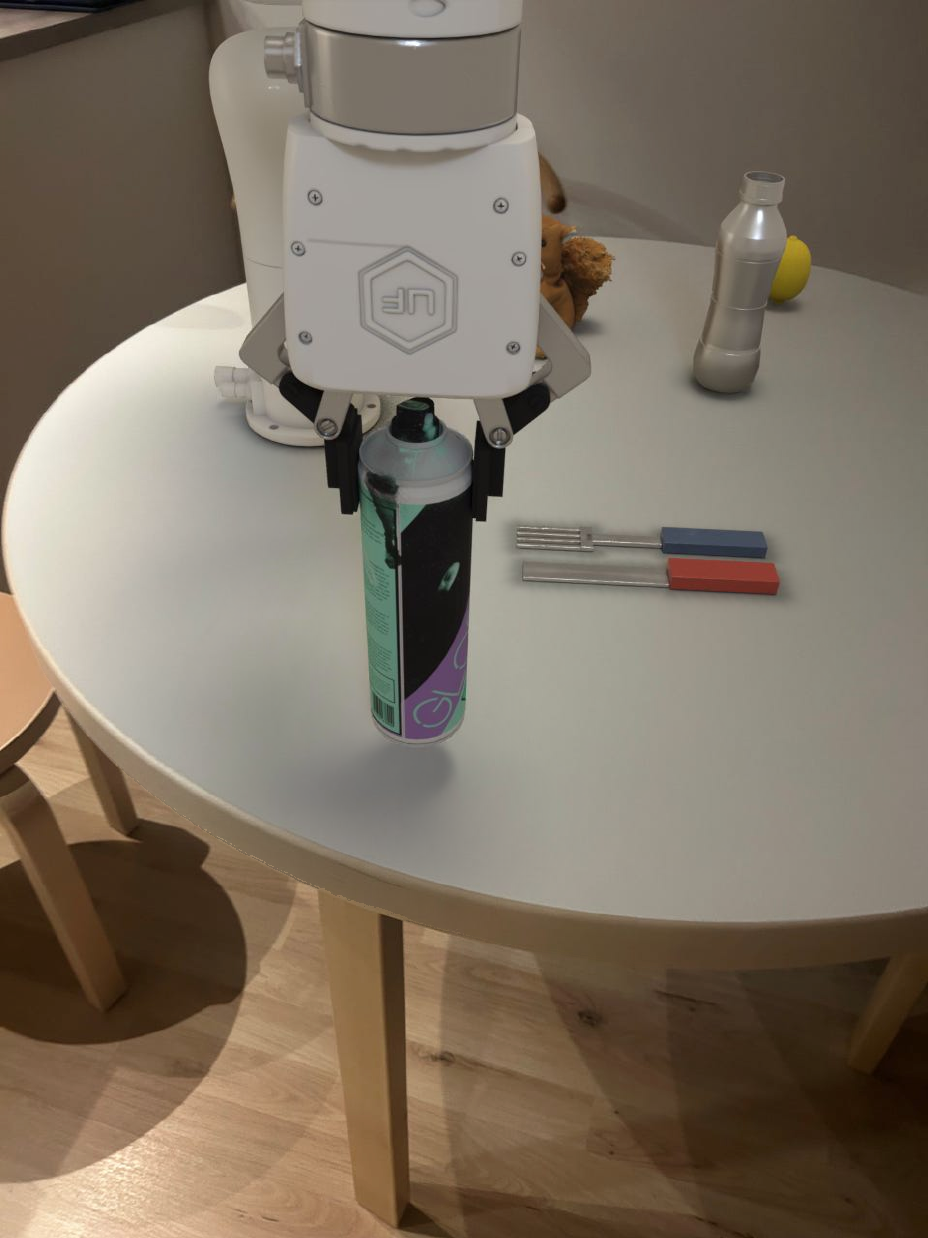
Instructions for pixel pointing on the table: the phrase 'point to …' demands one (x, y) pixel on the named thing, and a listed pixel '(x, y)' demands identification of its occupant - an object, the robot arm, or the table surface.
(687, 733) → the table surface
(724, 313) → the plastic bottle
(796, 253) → the lemon
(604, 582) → the knife
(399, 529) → the spray can
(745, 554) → the fork
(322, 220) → the robot arm
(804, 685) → the table surface
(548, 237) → the stuffed squirrel
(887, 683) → the table surface
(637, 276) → the table surface
